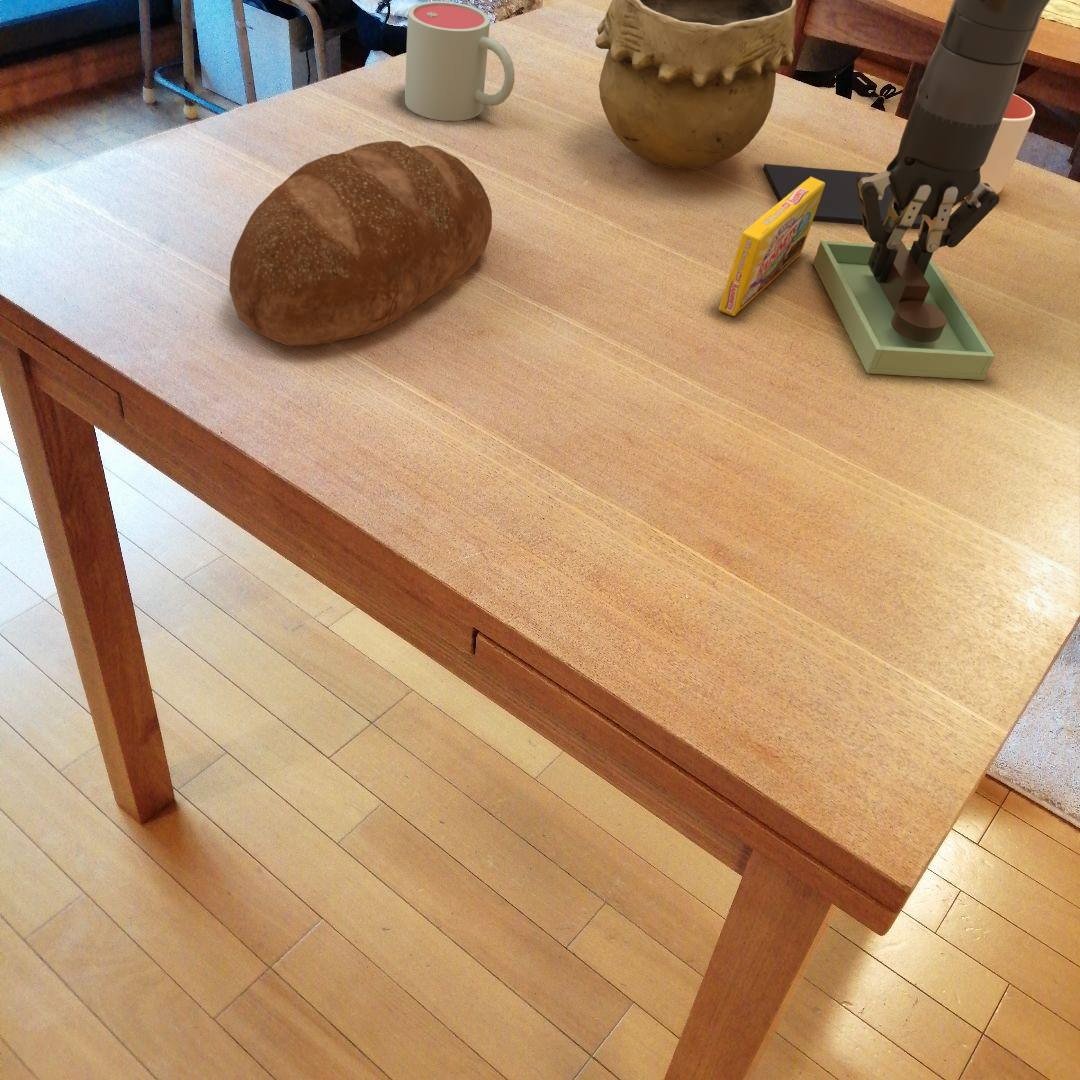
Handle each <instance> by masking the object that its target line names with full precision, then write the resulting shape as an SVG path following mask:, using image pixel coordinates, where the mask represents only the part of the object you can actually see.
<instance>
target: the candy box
mask: <svg viewBox="0 0 1080 1080" xmlns="http://www.w3.org/2000/svg"><path fill="white" fill-rule="evenodd" d="M824 186H825V182H823V181H820V180H818V179H815V178H813V177H810V178H809V179H807V180H806V181H804V182H803V183H802V184H801V185H799V186H798V187H797V188H796V189H795V190H793V191H792V192H791V193H790V194H788V195H787V196H786V197H785V198H784V199H783V200H781V201H780V202H779V201H778V203H776V204H775V205H774V206H773V207H771V208H770V209H769V210H768V211H766V212H765V213H764V214H763V215H762V216H760V217H758V219H757V220H756V221H754V222H753V223H752V224H751V225H750V226H748V227H747V228H746V229H745V230H744V231H743V232H742V235H741V237H740V240H739V243H738V246H737V249H736V253H735V256H734V259H733V262H732V264H731V268H730V272H729V274H728V277H727V281H726V284H725V288H724V291H723V293H722V298H721V301H720V303H719V307H718V311H719V312H721V313H723V314H727V315H729V316H731V317H735V316H736V315H737V314H739V312H740V311H741V310H743V309H744V308H745V307H746V306H747V305H748V304H749V303H750V302H752V301H753V299H755V298H756V297H757V296H758V295H759V294H760V293H761V292H763V290H764V289H766V288H767V286H769V285H770V284H771V283H772V282H773V281H774V280H775V279H776V278H777V277H778V276H779V275H780V274H781V273H783V272H784V270H786V269H787V268H788V267H789V266H790V265H791V264H792V263H793V262H794V261H795V260H796V259H797V258H799V257H800V256H801V255H802V251H803V249H804V246H805V244H806V241H807V239H808V235H809V232H810V229H811V227H812V224H813V221H814V220H813V218H814V216H815V213H816V210H817V207H818V204H819V202H820V198H821V195H822V192H823V189H824Z"/></svg>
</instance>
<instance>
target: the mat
mask: <svg viewBox="0 0 1080 1080" xmlns="http://www.w3.org/2000/svg"><path fill="white" fill-rule="evenodd" d="M762 169H763V171H764V174H765V175H766V177H767V179H768V181H769V184H770V186H771V187H772V189H773V192H774V194H775V196H776V198H777V200H778V203H779V202H780V201H781V200H783V199H784V198H785V197H786V196H787V195H788V194H790V193H791V192H792V191H793V190H795V189H796V188H797V187H798V186H799V185H801V184H802V183H803V182H804V181H806V180H807V179H809V178H810V177H813V178H815V179H818V180H820V181H823V182H825V186H824V189H823V192H822V195H821V198H820V202H819V204H818V207H817V210H816V213H815V216H814V218H813V221H817V222H829V223H842V224H853V225H863V220H862V215H861V209H860V203H859V197H858V192H857V186H856V178H857V176H858V175H860V174H862V173H866V174H867V175H868V176H869V177H870V176H873V175H876V174H879V173H880V172H865V171H856V170H855V171H854V170H842V169H832V168H830V169H829V168H819V167H806V166H797V165H796V166H794V165H782V164H771V163H770V164H769V163H764V164H763V167H762ZM892 198H893V193H892V191H891V188H890V185H888V186H887V187H886V188H885V192H884V196H883V199H882V200H878V202H879V208H880V214H881V220H882V224H883V223H884V220H885V218H886V216H887V213H888V212H887V210H888V206H889V204H890V202H891V200H892ZM921 222H922V215H917V217H916V219H915V221H914V223H913V225H912V226H911V228H910V229H920V226H921Z"/></svg>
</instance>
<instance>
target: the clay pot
mask: <svg viewBox="0 0 1080 1080" xmlns="http://www.w3.org/2000/svg"><path fill="white" fill-rule="evenodd" d="M796 14H797V0H611V2H610V4H609V6H608V9H607V10H606V13H605V15H604V18H602V20H600V21H601V22H600V23H599V24H598V26H597V29H596V31H597V36H596V37H595V41H594V42H595V47H596V48H598V49H600V50H602V49H603V50H607V52H606V55H605V59H604V62H603V65H602V69H601V73H600V78H599V82H598V90H599V100H600V103H601V106H602V109H603V112H604V115H605V117H606V119H607V122H608V123H609V126H610V127H611V130H612V131H613V133H614V134H615V136H616V137H617V138H618V140H619V141H620V142H621V143H622V144H623V145H624V146H625V148H627V149H629V150H630V151H631V152H632V153H634V154H635V155H637V156H639V157H640V158H643V159H644V160H646V161H648V162H649V163H652V164H653V165H657V166H660V167H664V168H667V169H668V168H669V169H679V170H697V169H703V168H708V167H712V166H716V165H718V164H721V163H724V162H725V161H727V160H729V159H731V158H732V157H734V156H736V155H737V154H739V153H741V152H742V151H743V150H744V149H746V147H747V146H748V145H749V144H750V143H751V142H752V141H753V140H754V139H755V137H756V136H757V135H758V133H759V132H760V130H761V129H762V128H763V126H764V124H765V123H766V120H767V118H768V115H769V114H770V111H771V109H772V105H773V102H774V96H775V89H776V81H777V79H776V78H777V73H778V71H780V66H785V67H792V65H793V61H794V57H795V54H796V53H795V47H794V46H795V45H794V39H795V29H796V16H797V15H796Z"/></svg>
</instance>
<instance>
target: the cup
mask: <svg viewBox="0 0 1080 1080" xmlns="http://www.w3.org/2000/svg"><path fill="white" fill-rule="evenodd" d="M1035 115H1036V110H1035V108H1034V106H1033V105H1032V104H1031V103H1030V102H1029V101H1027V100H1026V99H1024V98H1022V97H1021V96H1019V95H1016V94H1015V93H1013V95H1012V97H1011V100H1010V102H1009V105H1008V107H1007V110H1006V112H1005V115H1004V117H1003V119H1002V122H1001V124H1000V127H999V129H998V132H997V134H996V136H995V139H994V141H993V144H992V146H991V149H990V151H989V153H988V156H987V158H986V161H985V163H984V164H983V165H982V166H981V168H980V176H981V179H980V181H981V182H982V183H988V184H989V185H990V187H992V188H993V190H994V191H995V192H996V194H997V195H999V193H1000V192H1001V191H1002V190H1003V188H1004V186H1005V184H1006V182H1007V179H1008V177H1009V175H1010V173H1011V170H1012V168H1013V166H1014V163H1015V162H1016V160H1017V157H1018V155H1019V152H1020V150H1021V148H1022V145H1023V143H1024V140H1025V138H1026V136H1027V135H1028V132H1029V129H1030V127H1031V124H1032V122H1033V120H1034V117H1035ZM963 200H966V197H965V198H964V199H963Z"/></svg>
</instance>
